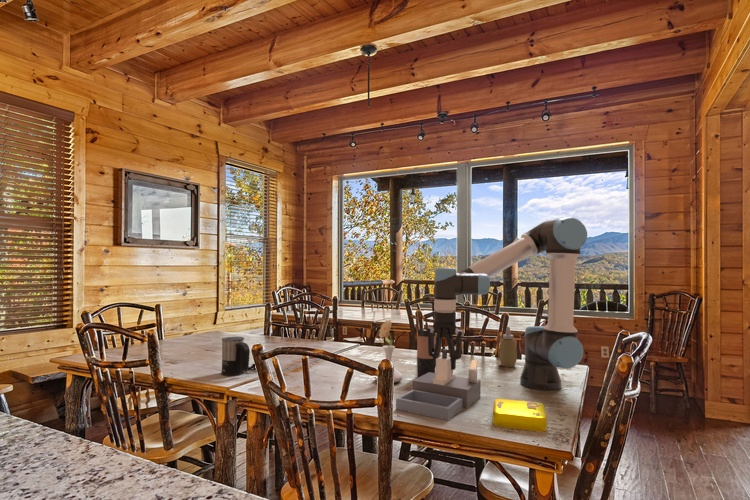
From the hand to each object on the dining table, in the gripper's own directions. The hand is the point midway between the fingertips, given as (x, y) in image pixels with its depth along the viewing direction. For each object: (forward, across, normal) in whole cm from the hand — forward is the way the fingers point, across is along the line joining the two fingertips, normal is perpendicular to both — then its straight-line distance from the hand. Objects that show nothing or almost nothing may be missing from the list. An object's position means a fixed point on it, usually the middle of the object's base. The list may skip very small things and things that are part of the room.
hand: (444, 377), depth 155 cm
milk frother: (+7, +86, +15) cm, 87 cm away
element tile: (+8, -28, +8) cm, 30 cm away
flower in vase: (+7, +26, -7) cm, 28 cm away
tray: (+7, 0, +14) cm, 16 cm away
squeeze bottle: (+7, -6, -62) cm, 63 cm away
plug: (+4, 0, 0) cm, 4 cm away
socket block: (+7, 0, -1) cm, 7 cm away
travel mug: (+7, +16, -21) cm, 28 cm away
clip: (+1, -7, -11) cm, 13 cm away
